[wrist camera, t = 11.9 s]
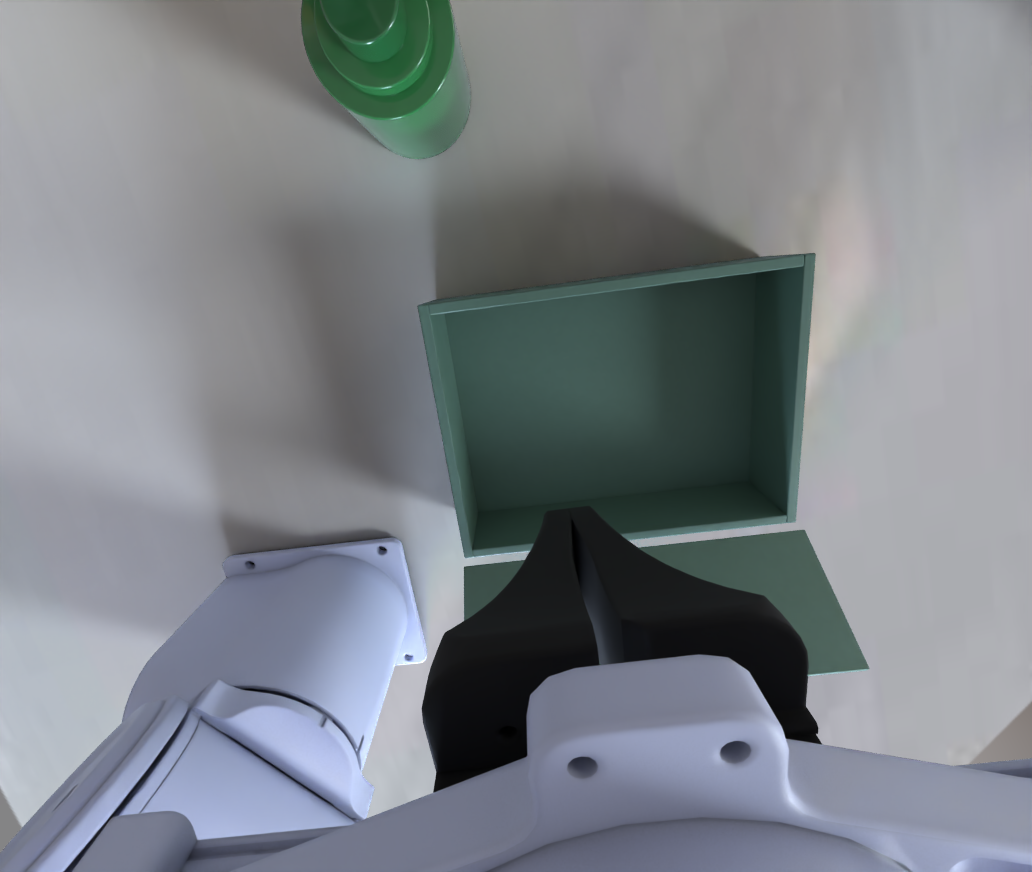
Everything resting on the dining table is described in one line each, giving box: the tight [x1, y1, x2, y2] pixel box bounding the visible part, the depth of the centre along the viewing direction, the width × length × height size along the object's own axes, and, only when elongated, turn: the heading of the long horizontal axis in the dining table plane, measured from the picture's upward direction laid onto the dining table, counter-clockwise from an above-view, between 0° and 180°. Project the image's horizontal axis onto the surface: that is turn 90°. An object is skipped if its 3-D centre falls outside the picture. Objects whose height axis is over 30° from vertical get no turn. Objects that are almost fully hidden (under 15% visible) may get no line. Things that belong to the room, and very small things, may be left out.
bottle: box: [301, 0, 471, 159], centre depth 15 cm, size 4×4×7 cm
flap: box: [464, 530, 869, 676], centre depth 18 cm, size 5×14×1 cm
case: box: [418, 253, 816, 558], centre depth 21 cm, size 11×14×4 cm
